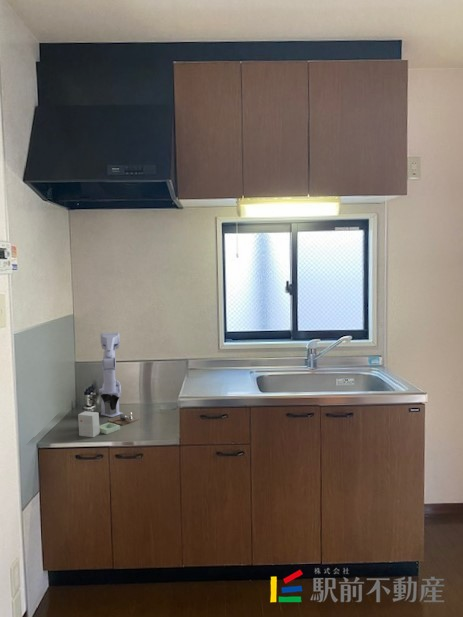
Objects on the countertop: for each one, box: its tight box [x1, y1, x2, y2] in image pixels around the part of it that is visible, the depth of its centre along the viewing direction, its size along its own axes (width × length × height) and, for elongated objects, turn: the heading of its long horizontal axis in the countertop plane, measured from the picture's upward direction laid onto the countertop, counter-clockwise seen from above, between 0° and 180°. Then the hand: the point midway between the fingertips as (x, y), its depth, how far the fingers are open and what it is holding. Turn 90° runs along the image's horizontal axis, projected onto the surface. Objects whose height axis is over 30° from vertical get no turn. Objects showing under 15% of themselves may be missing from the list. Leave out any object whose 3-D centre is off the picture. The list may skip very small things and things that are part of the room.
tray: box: [99, 422, 121, 435], centre depth 249 cm, size 8×8×2 cm
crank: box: [119, 411, 135, 421], centre depth 262 cm, size 9×4×4 cm, turn 52°
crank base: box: [107, 416, 140, 426], centre depth 264 cm, size 11×11×1 cm
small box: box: [77, 410, 101, 438], centre depth 243 cm, size 8×6×10 cm
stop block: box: [105, 400, 116, 415], centre depth 256 cm, size 4×4×6 cm
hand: (110, 408), depth 256 cm, fingers closed on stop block, 4 cm apart
